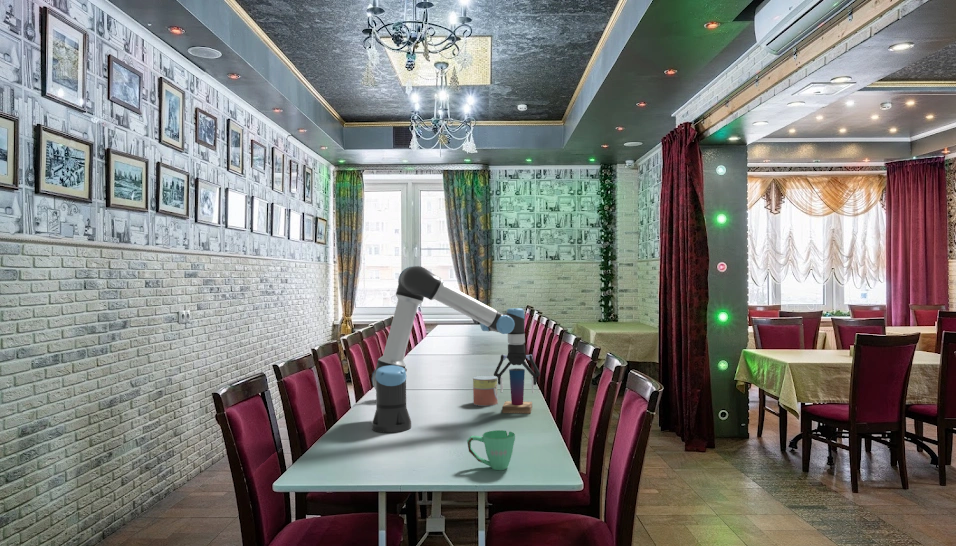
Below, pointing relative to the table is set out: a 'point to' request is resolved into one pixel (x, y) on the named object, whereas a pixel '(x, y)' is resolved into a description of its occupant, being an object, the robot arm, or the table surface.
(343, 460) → the table surface
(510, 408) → the board
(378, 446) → the table surface
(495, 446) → the mug
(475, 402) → the canned food
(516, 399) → the cup
